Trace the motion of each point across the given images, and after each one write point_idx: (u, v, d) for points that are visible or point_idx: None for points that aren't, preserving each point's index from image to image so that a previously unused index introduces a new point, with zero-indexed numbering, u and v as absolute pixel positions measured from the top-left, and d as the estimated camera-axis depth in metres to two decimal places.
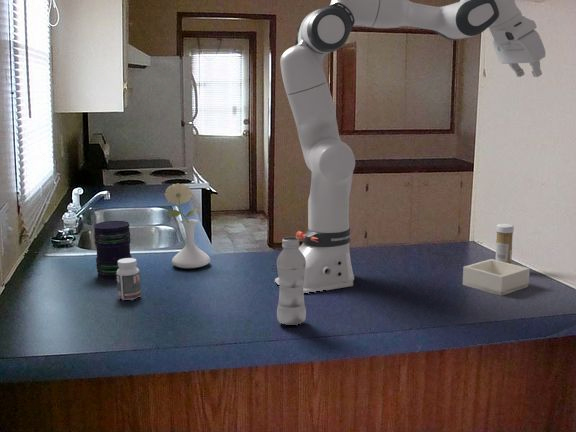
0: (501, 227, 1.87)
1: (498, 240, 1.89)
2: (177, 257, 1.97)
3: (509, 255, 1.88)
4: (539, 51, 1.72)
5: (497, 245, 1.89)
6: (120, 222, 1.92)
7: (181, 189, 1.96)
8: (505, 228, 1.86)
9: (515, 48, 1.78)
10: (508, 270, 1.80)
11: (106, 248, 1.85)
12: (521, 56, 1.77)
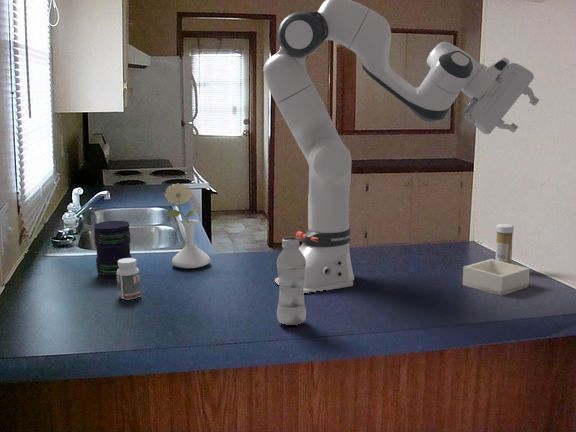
0: (501, 227, 1.87)
1: (498, 240, 1.89)
2: (177, 257, 1.97)
3: (509, 255, 1.88)
4: None
5: (497, 245, 1.89)
6: (120, 222, 1.92)
7: (181, 189, 1.96)
8: (505, 228, 1.86)
9: (504, 87, 1.76)
10: (508, 270, 1.80)
11: (106, 248, 1.85)
12: (516, 86, 1.75)
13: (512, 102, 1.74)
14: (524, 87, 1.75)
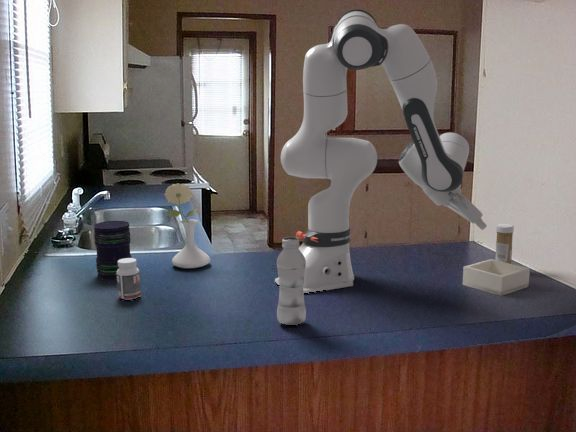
0: (501, 227, 1.87)
1: (498, 240, 1.89)
2: (177, 257, 1.97)
3: (509, 255, 1.88)
4: None
5: (497, 245, 1.89)
6: (120, 222, 1.92)
7: (181, 189, 1.96)
8: (505, 228, 1.86)
9: None
10: (508, 270, 1.80)
11: (106, 248, 1.85)
12: None
13: None
14: None
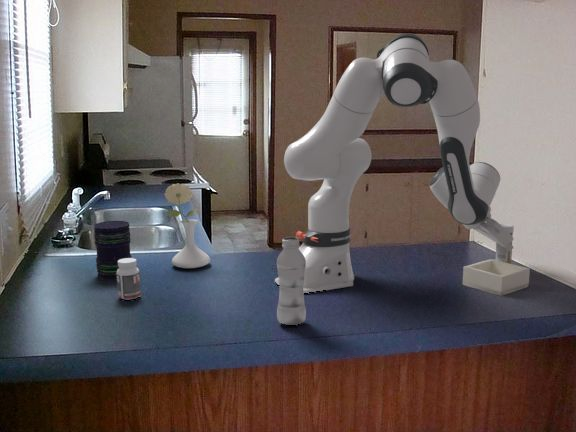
0: None
1: None
2: (177, 257, 1.97)
3: (509, 255, 1.88)
4: None
5: (497, 245, 1.89)
6: (120, 222, 1.92)
7: (181, 189, 1.96)
8: (505, 228, 1.86)
9: None
10: (508, 270, 1.80)
11: (106, 248, 1.85)
12: None
13: None
14: None
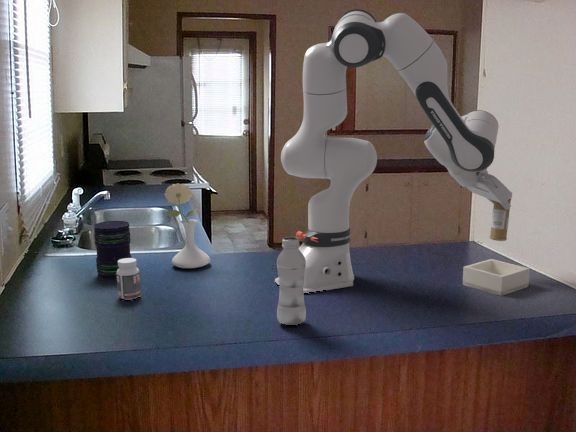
0: None
1: (495, 206, 1.80)
2: (177, 257, 1.97)
3: (506, 222, 1.80)
4: None
5: (494, 211, 1.81)
6: (120, 222, 1.92)
7: (181, 189, 1.96)
8: None
9: None
10: (508, 270, 1.80)
11: (106, 248, 1.85)
12: None
13: None
14: None
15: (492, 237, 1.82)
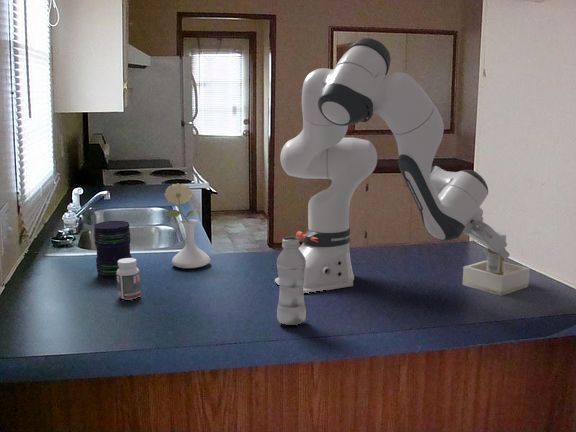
0: None
1: (489, 250, 1.75)
2: (177, 257, 1.97)
3: (501, 266, 1.74)
4: None
5: (488, 255, 1.75)
6: (120, 222, 1.92)
7: (181, 189, 1.96)
8: None
9: None
10: (508, 270, 1.80)
11: (106, 248, 1.85)
12: None
13: None
14: None
15: None
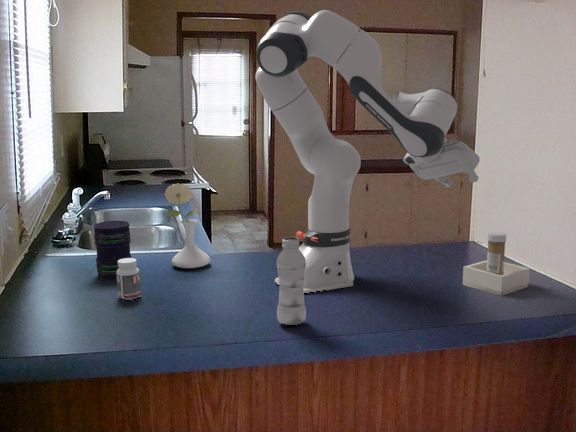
0: (493, 236, 1.73)
1: (489, 250, 1.75)
2: (177, 257, 1.97)
3: (501, 266, 1.74)
4: None
5: (488, 255, 1.75)
6: (120, 222, 1.92)
7: (181, 189, 1.96)
8: (497, 237, 1.73)
9: None
10: (508, 270, 1.80)
11: (106, 248, 1.85)
12: None
13: None
14: None
15: None
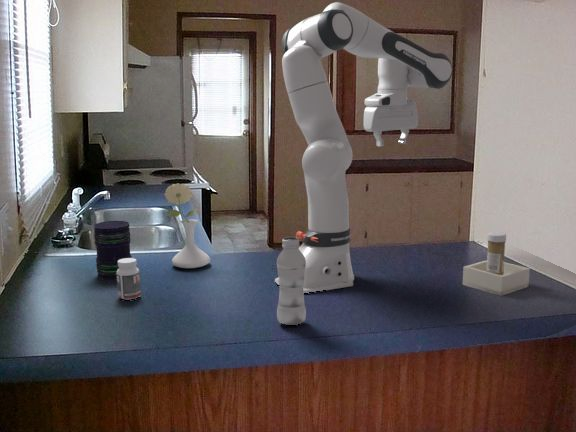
0: (492, 236, 1.73)
1: (489, 250, 1.75)
2: (177, 257, 1.97)
3: (501, 266, 1.74)
4: (368, 124, 1.97)
5: (488, 255, 1.75)
6: (120, 222, 1.92)
7: (181, 189, 1.96)
8: (497, 237, 1.73)
9: None
10: (508, 270, 1.80)
11: (106, 248, 1.85)
12: None
13: None
14: None
15: None
